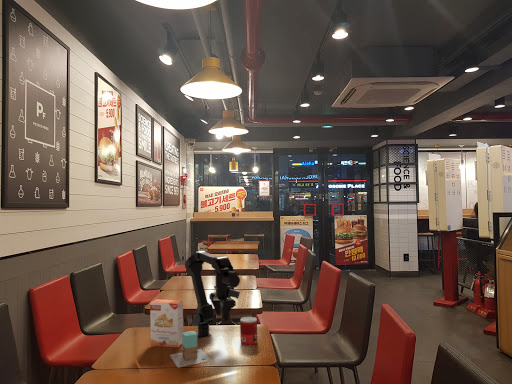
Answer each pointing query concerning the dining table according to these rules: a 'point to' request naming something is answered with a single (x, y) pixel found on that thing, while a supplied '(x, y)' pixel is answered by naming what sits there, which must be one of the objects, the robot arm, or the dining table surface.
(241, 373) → the dining table surface
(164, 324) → the cracker box
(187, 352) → the walnut cube
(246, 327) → the canned food
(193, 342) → the teal cube
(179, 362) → the plate
